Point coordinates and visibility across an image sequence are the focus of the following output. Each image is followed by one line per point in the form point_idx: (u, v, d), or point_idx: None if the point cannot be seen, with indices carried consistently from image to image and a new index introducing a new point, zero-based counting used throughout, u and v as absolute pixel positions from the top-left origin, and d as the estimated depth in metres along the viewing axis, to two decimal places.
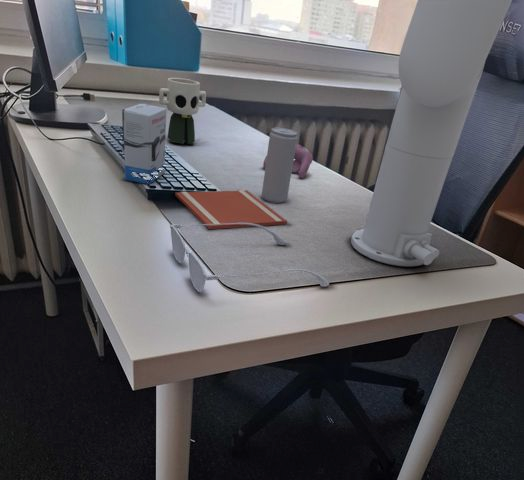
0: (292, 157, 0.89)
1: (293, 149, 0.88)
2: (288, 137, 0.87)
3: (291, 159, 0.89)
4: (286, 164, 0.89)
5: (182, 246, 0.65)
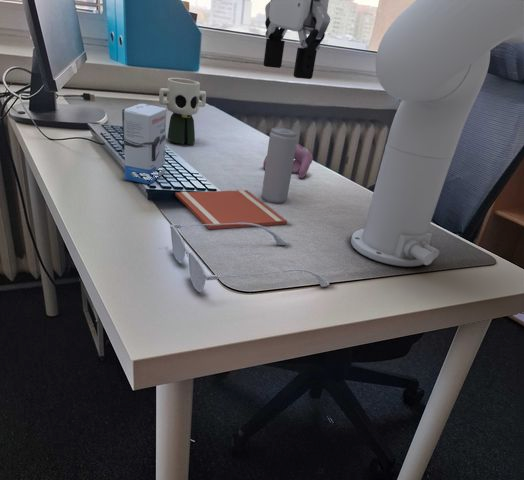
0: (292, 157, 0.89)
1: (293, 149, 0.88)
2: (288, 137, 0.87)
3: (291, 159, 0.89)
4: (286, 164, 0.89)
5: (182, 246, 0.65)
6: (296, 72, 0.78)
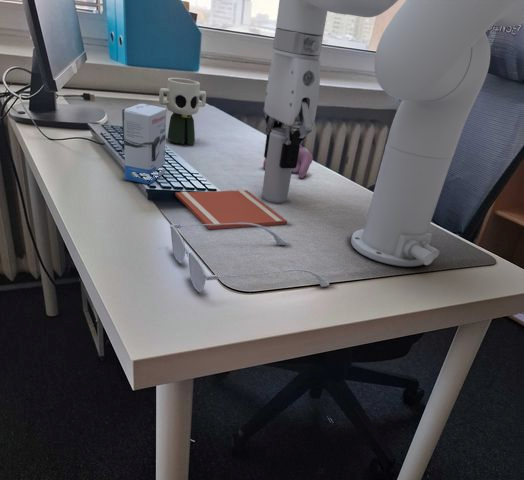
0: None
1: None
2: None
3: None
4: None
5: (182, 246, 0.65)
6: (281, 164, 0.88)
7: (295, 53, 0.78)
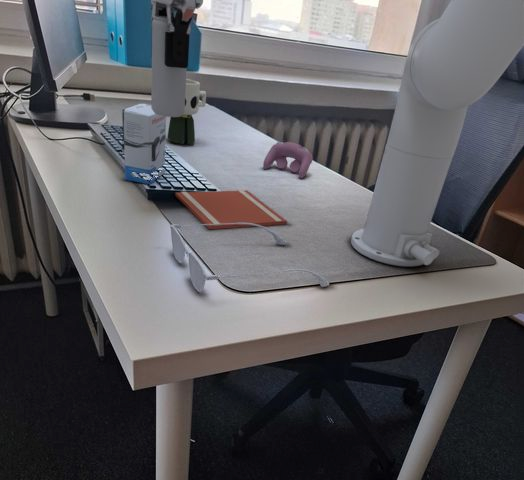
0: None
1: None
2: None
3: None
4: None
5: (182, 246, 0.65)
6: (166, 60, 0.69)
7: None
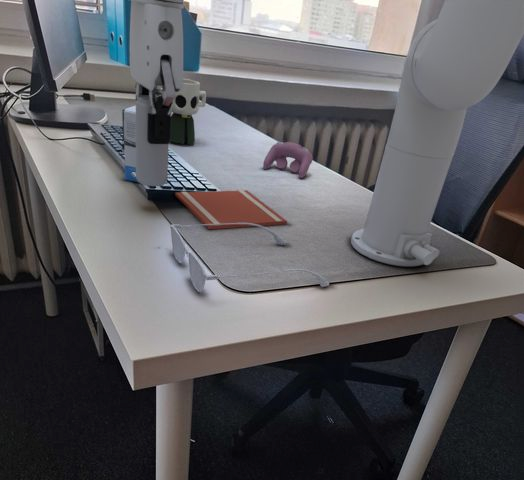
0: None
1: None
2: None
3: None
4: None
5: (182, 246, 0.65)
6: (149, 138, 0.73)
7: None
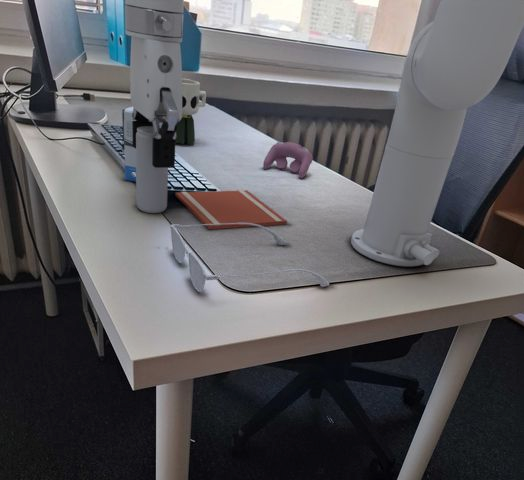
0: None
1: None
2: None
3: None
4: (156, 168, 0.77)
5: (182, 246, 0.65)
6: (154, 162, 0.73)
7: (146, 34, 0.66)
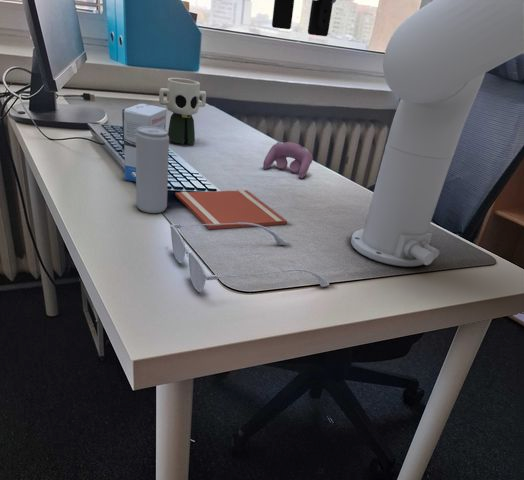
0: (164, 160, 0.77)
1: (164, 151, 0.76)
2: (155, 137, 0.74)
3: (162, 163, 0.77)
4: (156, 168, 0.77)
5: (182, 246, 0.65)
6: (311, 28, 0.71)
7: None
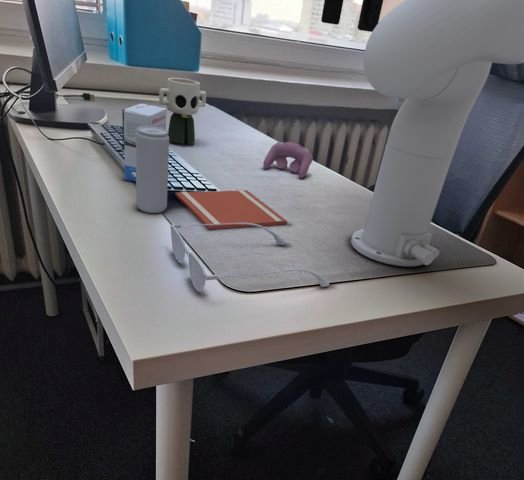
0: (164, 160, 0.77)
1: (164, 151, 0.76)
2: (155, 137, 0.74)
3: (162, 163, 0.77)
4: (156, 168, 0.77)
5: (182, 246, 0.65)
6: (361, 24, 0.74)
7: None
